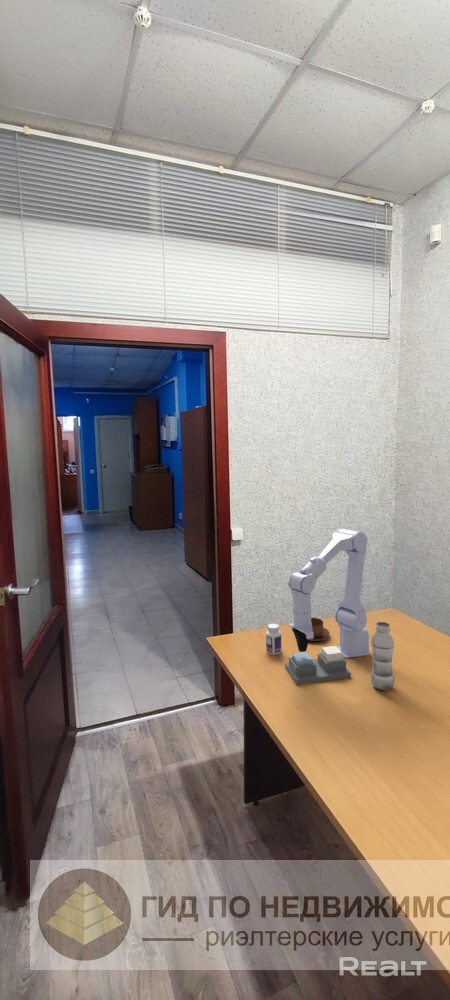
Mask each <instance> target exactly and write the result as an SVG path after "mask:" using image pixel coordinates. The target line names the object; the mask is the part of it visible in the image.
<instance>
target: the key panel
mask: <svg viewBox="0 0 450 1000" xmlns="http://www.w3.org/2000/svg"><path fill="white" fill-rule="evenodd" d="M284 665H285V666H284V667H285V669H286V670H287V672H288V674H289V676H290V677H291V678H292V680H293V682H294V684H295V685H296V686H297V685H298V686H299V685H305V684H311V683H318V682H326V681H327V682H328V681H334V680H342V679H348V678H349V679H350V678H351V675H352V673H351V671H350V670H349V669H348V668H347V660H346V659H345V657H344V656H342V661H334V662H326V661H325V659H324V658H323V657H322V652H320V653H317V658H312V664H311V665H304V666H297V665H296V664H295V663H294V661H293V656H289V657H288V662H285V664H284Z"/></svg>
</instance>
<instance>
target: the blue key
mask: <svg viewBox="0 0 450 1000" xmlns="http://www.w3.org/2000/svg"><path fill="white" fill-rule="evenodd" d="M292 657H293V661H294V663H295V664H296V665H297V666H304V665H311V664H312V659H313V658H312V657H311V656H310V654H309V653H308V652H307V651H305V652H297V653H292Z"/></svg>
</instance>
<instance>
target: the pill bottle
mask: <svg viewBox="0 0 450 1000" xmlns="http://www.w3.org/2000/svg"><path fill="white" fill-rule="evenodd" d="M265 641H266V642H265V643H266V644H265V648H266V649H265V650H266V653H267V654H269V655H273V656H274V655H275V656H276V655H279V654H281V653H282V651H283V650H282V649H283V648H282V633H281V631H280V625H279V624H278V623H269V624H268V625H267V631H266V632H265Z"/></svg>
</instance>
